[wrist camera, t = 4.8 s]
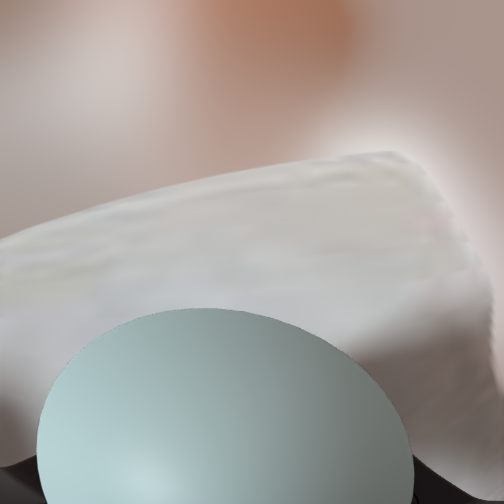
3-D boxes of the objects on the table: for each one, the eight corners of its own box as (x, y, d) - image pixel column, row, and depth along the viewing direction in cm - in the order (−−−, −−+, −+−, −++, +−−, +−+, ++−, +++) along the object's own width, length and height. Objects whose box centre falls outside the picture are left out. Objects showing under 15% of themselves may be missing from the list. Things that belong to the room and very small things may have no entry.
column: (312, 399, 13) (466, 387, 2) (275, 472, 11) (292, 643, 1) (234, 366, 14) (129, 249, 3) (196, 437, 13) (11, 497, 2)
